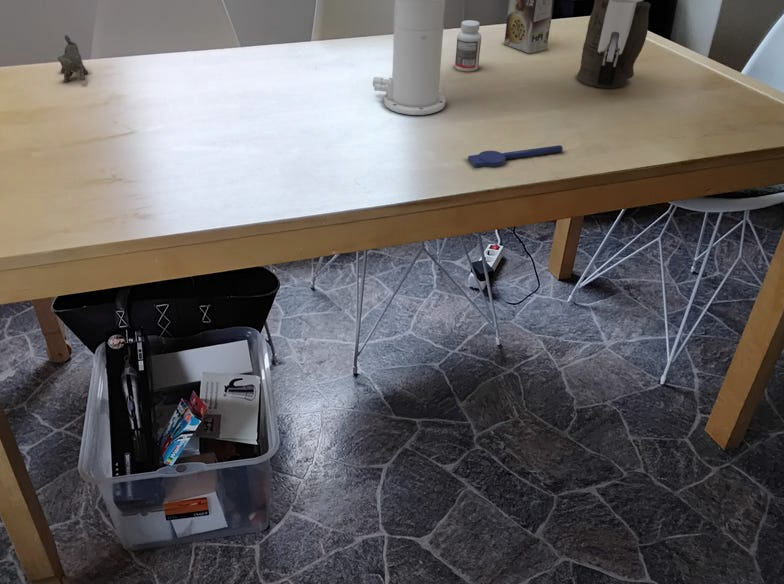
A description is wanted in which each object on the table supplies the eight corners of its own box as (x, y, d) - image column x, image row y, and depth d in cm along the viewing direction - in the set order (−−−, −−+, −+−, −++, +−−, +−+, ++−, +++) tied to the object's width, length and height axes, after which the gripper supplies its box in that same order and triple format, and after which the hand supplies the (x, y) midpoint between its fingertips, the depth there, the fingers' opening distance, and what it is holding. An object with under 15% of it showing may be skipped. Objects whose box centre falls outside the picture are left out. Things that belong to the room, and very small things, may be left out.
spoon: (477, 169, 127) (477, 163, 126) (465, 158, 130) (466, 151, 129) (568, 156, 131) (569, 150, 130) (555, 146, 134) (556, 139, 134)
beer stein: (564, 75, 163) (587, -22, 149) (599, 67, 167) (624, -28, 153) (613, 102, 153) (642, 2, 140) (649, 93, 158) (680, -5, 144)
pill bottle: (461, 62, 169) (466, 17, 162) (482, 67, 166) (487, 22, 160) (450, 68, 165) (454, 23, 159) (470, 73, 163) (475, 27, 157)
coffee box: (547, 49, 176) (559, -24, 166) (528, 54, 174) (539, -20, 163) (521, 39, 182) (531, -32, 172) (502, 44, 179) (511, -29, 169)
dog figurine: (61, 69, 162) (52, 34, 157) (88, 67, 163) (80, 32, 159) (59, 88, 153) (50, 52, 149) (88, 86, 155) (79, 50, 150)
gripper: (610, -22, 147) (591, 70, 159) (602, -4, 137) (582, 93, 149) (648, -18, 146) (626, 74, 158) (643, 1, 135) (620, 98, 147)
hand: (605, 83), depth 153 cm, fingers closed
